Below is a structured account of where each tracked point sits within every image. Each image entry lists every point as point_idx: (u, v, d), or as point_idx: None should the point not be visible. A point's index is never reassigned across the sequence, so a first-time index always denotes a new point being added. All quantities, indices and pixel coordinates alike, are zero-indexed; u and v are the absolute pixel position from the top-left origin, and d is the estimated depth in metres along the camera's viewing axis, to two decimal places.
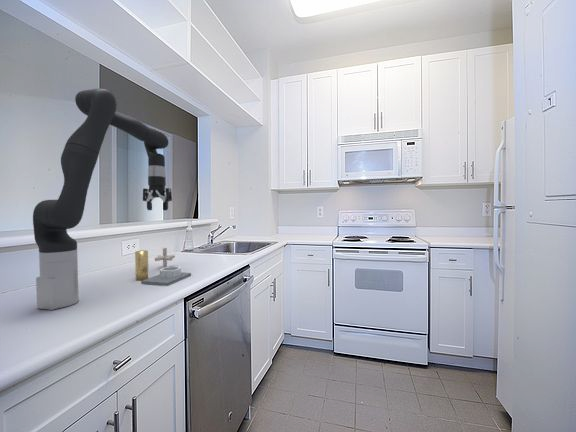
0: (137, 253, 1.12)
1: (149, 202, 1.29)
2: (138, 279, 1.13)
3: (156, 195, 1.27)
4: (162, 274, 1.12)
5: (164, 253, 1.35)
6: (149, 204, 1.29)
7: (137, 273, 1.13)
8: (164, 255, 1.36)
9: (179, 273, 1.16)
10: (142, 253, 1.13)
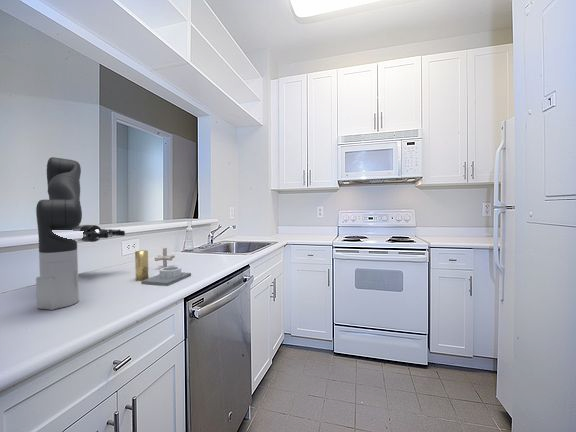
0: (137, 253, 1.12)
1: None
2: (138, 279, 1.13)
3: (104, 231, 1.19)
4: (162, 274, 1.12)
5: (164, 253, 1.35)
6: None
7: (137, 273, 1.13)
8: (164, 255, 1.36)
9: (179, 273, 1.16)
10: (142, 253, 1.13)
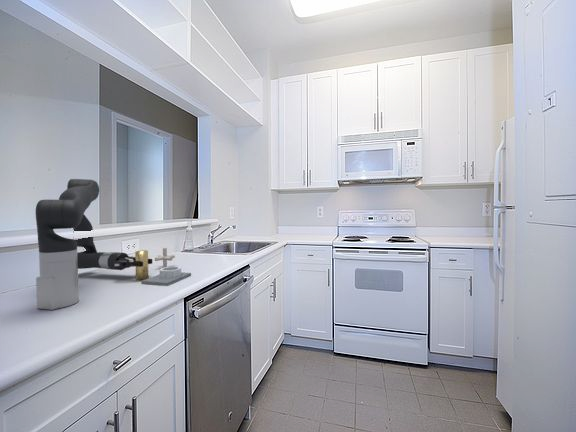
0: (137, 253, 1.12)
1: None
2: (138, 279, 1.13)
3: (130, 259, 1.16)
4: (162, 274, 1.12)
5: (164, 253, 1.35)
6: None
7: (137, 273, 1.13)
8: (164, 255, 1.36)
9: (179, 273, 1.16)
10: (142, 253, 1.13)
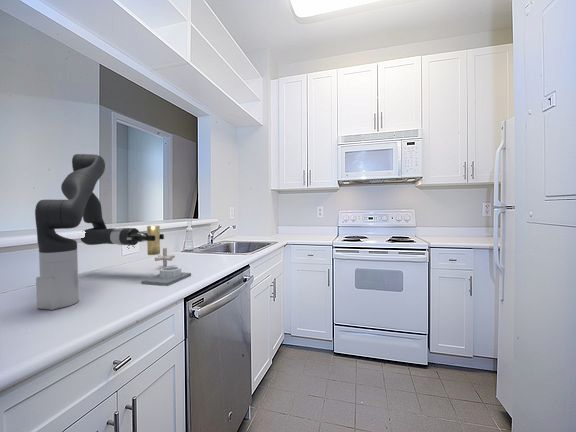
0: (149, 227, 1.13)
1: None
2: (150, 253, 1.13)
3: None
4: (162, 274, 1.12)
5: (164, 253, 1.35)
6: None
7: (149, 247, 1.13)
8: (164, 255, 1.36)
9: (179, 273, 1.16)
10: (154, 227, 1.13)
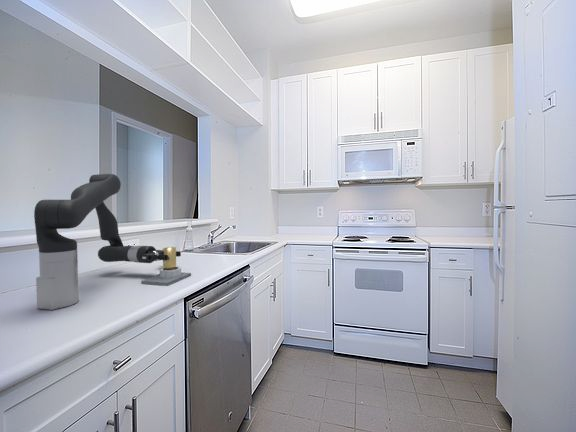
0: (166, 249, 1.14)
1: None
2: None
3: (160, 252, 1.18)
4: (162, 274, 1.12)
5: None
6: None
7: (166, 269, 1.14)
8: None
9: (179, 273, 1.16)
10: (171, 249, 1.14)
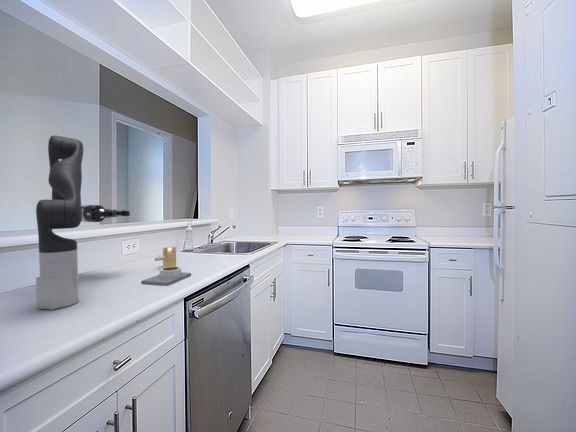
0: (166, 250, 1.14)
1: None
2: None
3: (108, 211, 1.17)
4: (162, 274, 1.12)
5: None
6: None
7: (166, 269, 1.14)
8: None
9: (179, 273, 1.16)
10: (171, 250, 1.14)
